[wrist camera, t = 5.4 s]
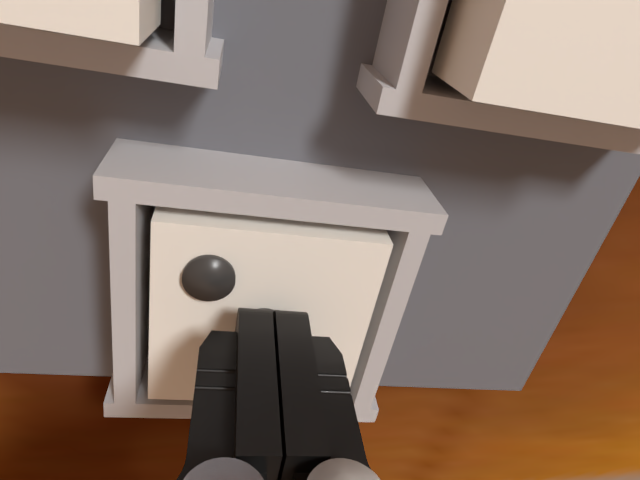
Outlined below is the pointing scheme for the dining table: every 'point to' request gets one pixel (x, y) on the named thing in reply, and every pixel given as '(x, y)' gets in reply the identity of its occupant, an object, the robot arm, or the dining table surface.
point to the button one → (87, 17)
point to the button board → (291, 186)
